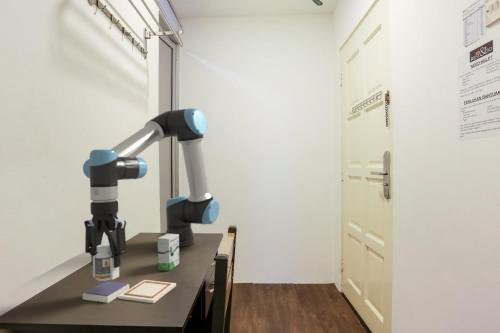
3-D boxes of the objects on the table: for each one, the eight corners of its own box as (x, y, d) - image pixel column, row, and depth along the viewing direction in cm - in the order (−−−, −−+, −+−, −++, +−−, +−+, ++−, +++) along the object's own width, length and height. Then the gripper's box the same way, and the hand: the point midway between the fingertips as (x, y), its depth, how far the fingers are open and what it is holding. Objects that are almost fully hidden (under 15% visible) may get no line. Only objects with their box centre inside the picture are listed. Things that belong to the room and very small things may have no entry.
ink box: (169, 271, 106) (168, 238, 106) (157, 270, 107) (156, 238, 107) (180, 263, 115) (179, 233, 115) (168, 262, 116) (167, 232, 116)
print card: (144, 282, 97) (144, 279, 97) (176, 285, 93) (176, 282, 93) (118, 298, 85) (118, 295, 85) (153, 303, 82) (153, 299, 82)
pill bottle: (118, 278, 87) (117, 245, 87) (97, 283, 84) (96, 249, 84) (114, 273, 92) (113, 241, 92) (93, 277, 88) (93, 245, 88)
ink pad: (106, 286, 94) (105, 280, 94) (129, 289, 91) (129, 283, 91) (82, 299, 85) (82, 292, 85) (107, 302, 82) (107, 295, 82)
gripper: (69, 201, 87) (71, 278, 87) (121, 202, 82) (123, 284, 82) (89, 198, 94) (91, 269, 94) (138, 199, 89) (140, 275, 89)
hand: (106, 276), depth 88 cm, fingers closed on pill bottle, 6 cm apart
